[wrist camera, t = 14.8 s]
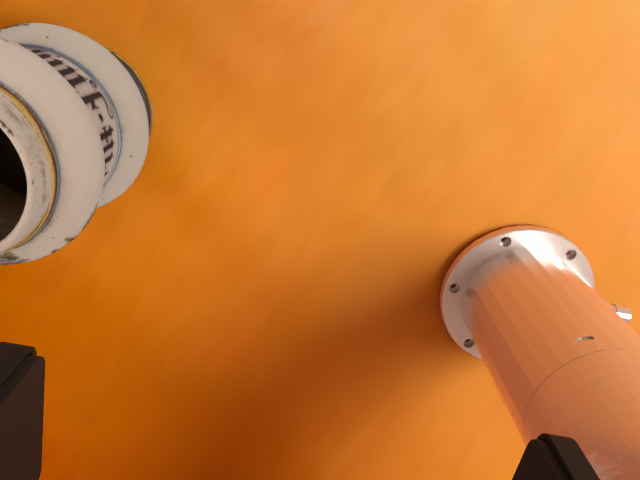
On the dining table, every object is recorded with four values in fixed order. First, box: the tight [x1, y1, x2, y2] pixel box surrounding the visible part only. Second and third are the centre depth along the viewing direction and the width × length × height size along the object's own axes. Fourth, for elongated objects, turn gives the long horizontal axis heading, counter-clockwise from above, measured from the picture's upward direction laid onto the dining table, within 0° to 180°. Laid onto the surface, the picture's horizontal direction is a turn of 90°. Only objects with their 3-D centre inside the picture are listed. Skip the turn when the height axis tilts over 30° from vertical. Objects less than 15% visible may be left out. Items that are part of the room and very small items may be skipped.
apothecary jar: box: [0, 23, 153, 265], centre depth 32 cm, size 12×12×18 cm
